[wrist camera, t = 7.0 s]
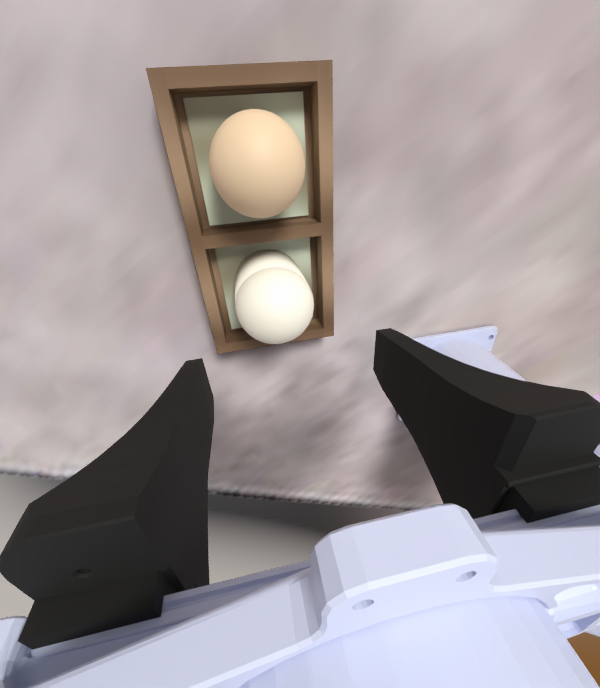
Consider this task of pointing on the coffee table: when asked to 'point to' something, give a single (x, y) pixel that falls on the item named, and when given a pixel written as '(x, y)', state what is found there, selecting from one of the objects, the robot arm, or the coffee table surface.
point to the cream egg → (272, 297)
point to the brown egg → (257, 163)
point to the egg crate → (216, 215)
